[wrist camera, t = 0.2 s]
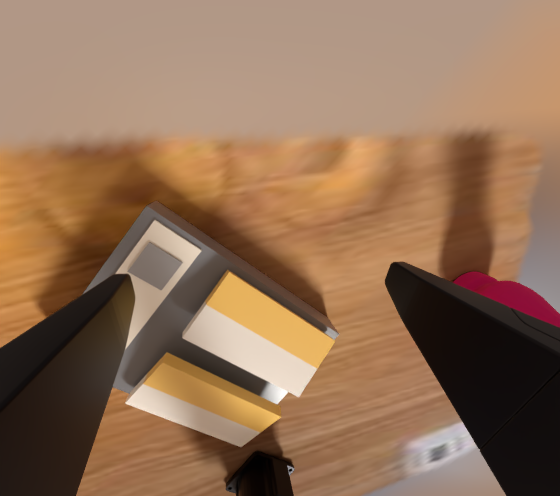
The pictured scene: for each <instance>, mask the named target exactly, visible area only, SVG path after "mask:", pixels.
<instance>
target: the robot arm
mask: <svg viewBox="0 0 560 496" xmlns="http://www.w3.org/2000/svg"><path fill="white" fill-rule="evenodd" d="M385 285H386V288H387V290H388V292H389V294H390V296H391V298H392V300H393V303H394V305H395V307H396V309H397V311H398V313H399V315H400V317H401V319H402V321H403V323H404V325H405V326H406V328H407V330H408V331H409V333H410V335H411V336H412V338H413V340H414V341H415V343H416V345H417V346H418V348H419V350H420V351H421V353H422V355H423V356H424V358H425V360H426V361H427V363H428V365H429V366H430V368H431V370H432V371H433V373H434V375H435V377H436V378H437V380H438V382H439V383H440V385H441V387H442V388H443V390H444V392H445V393H446V395H447V397H448V398H449V400H450V402H451V403H452V405H453V407H454V408H455V410H456V412H457V413H458V415H459V417H460V418H461V420H462V422H463V423H464V425H465V427H466V428H467V430H468V432H469V433H470V435H471V437H472V438H473V440H474V442H475V443H476V445H477V447H478V448H479V449H480V452H481V454H482V456H483V457H484V459H485V460H486V462H487V464H488V466H489V467H490V469H491V471H492V472H493V474H494V476H495V477H496V479H497V481H498V482H499V484H500V486H501V487H502V489H503V491H504V492H505V494H506V496H560V327H557V326H555V325H552V324H550V323H547V322H544V321H542V320H540V319H537V318H535V317H532V316H530V315H528V314H525V313H523V312H520V311H518V310H516V309H513V308H509V307H508V306H506V305H504V304H502V303H499V302H497V301H495V300H492V299H490V298H487V297H485V296H483V295H480V294H478V293H476V292H473V291H471V290H469V289H466V288H464V287H462V286H459V285H457V284H455V283H452V282H450V281H448V280H445V279H443V278H441V277H438V276H436V275H433V274H431V273H429V272H426V271H424V270H422V269H419V268H417V267H415V266H412V265H410V264H408V263H405V262H393V263H392V264H391V265H390V268H389V270H388V273H387V276H386V279H385ZM134 305H135V292H134V288H133V284H132V280H131V276H130V275H129V274H127V273H126V274H113V275H111V276H110V277H108V278H107V279H105V280H104V281H102V282H101V283H99V284H98V285H96V286H95V287H93V288H92V289H90V290H88V291H87V292H85V293H84V294H82V295H81V296H79V297H78V298H76V299H75V300H73V301H72V302H70V303H69V304H67V305H65V306H64V307H62V308H61V309H59V310H58V311H56V312H55V313H53V314H52V315H50V316H49V317H47V318H46V319H44V320H43V321H41V322H39V323H38V324H36V325H35V326H33V327H32V328H30V329H29V330H27V331H26V332H24V333H23V334H21V335H20V336H18V337H16V338H15V339H13V340H12V341H10V342H9V343H7V344H6V345H4V346H3V347H1V348H0V496H76V494H77V491H78V488H79V485H80V482H81V479H82V476H83V473H84V470H85V467H86V464H87V461H88V458H89V455H90V452H91V449H92V446H93V443H94V440H95V437H96V434H97V431H98V428H99V426H100V423H101V420H102V417H103V414H104V411H105V408H106V405H107V402H108V399H109V396H110V393H111V390H112V387H113V384H114V381H115V378H116V375H117V372H118V369H119V366H120V363H121V360H122V357H123V354H124V351H125V348H126V344H127V340H128V335H129V330H130V325H131V320H132V315H133V310H134ZM293 471H294V466H293V465H292V464H290V463H287V462H285V461H282V460H280V459H277V458H274V457H272V456H269V455H266V454H264V453H261V452H255V453H254V454H253V455H252V456H251V457H250V458H249V459H248V460H247V461H246V463H245V464H244V465H243V466H242V467H241V468H240V469H239V470H238V471H237V473H236V474H235V475H234V476H233V477H232V478H231V479H230V480H229V481H228V483H227V484H226V490H227V491H229V492H233V493H236V496H294V495H293V490H292V486H291V481H290V475H291V473H292V472H293Z"/></svg>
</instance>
